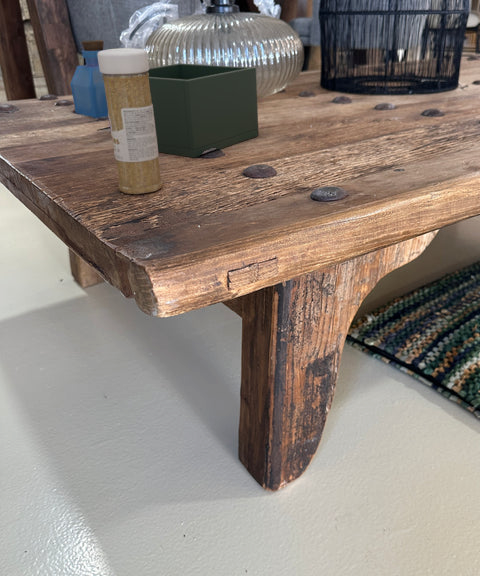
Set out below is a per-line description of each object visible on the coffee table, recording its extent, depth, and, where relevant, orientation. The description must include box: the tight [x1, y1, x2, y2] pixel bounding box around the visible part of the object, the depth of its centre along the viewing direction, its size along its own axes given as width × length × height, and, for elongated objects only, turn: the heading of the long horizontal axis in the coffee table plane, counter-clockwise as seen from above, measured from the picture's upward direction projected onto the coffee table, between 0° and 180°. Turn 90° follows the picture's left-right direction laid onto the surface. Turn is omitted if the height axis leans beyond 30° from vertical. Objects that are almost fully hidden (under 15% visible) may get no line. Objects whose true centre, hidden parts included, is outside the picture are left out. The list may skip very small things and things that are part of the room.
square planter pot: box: [148, 62, 260, 159], centre depth 76 cm, size 14×14×9 cm
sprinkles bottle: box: [97, 47, 164, 195], centre depth 56 cm, size 5×5×14 cm
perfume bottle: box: [69, 39, 110, 132], centre depth 86 cm, size 6×6×12 cm
